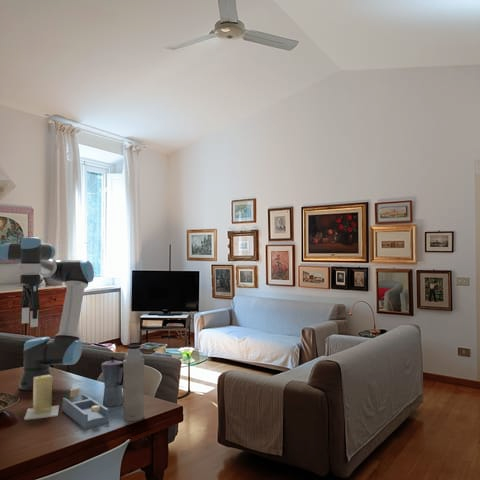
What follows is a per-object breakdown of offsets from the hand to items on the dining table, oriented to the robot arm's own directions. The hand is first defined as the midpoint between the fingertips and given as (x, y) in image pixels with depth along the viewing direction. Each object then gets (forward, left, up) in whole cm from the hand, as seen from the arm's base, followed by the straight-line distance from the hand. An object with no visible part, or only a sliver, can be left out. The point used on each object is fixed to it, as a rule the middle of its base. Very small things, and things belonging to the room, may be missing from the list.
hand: (29, 324), depth 180 cm
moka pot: (+6, +34, -35) cm, 49 cm away
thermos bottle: (+25, +40, -35) cm, 59 cm away
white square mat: (+7, +6, -35) cm, 36 cm away
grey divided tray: (+17, +22, -35) cm, 44 cm away
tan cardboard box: (+7, +6, -34) cm, 35 cm away
